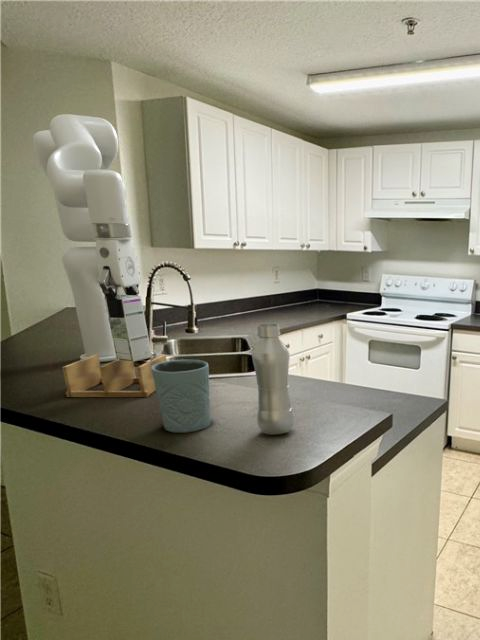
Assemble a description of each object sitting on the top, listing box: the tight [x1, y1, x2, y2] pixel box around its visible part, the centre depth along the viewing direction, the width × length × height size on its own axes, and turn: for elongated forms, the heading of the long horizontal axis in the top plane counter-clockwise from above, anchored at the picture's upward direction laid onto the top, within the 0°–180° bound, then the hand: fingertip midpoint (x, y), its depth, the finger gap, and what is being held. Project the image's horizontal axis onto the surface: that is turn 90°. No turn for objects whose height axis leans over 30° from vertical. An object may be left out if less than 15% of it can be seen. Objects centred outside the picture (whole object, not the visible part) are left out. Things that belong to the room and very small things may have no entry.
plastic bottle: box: [251, 323, 295, 435], centre depth 99 cm, size 6×7×20 cm
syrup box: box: [104, 294, 153, 362], centre depth 126 cm, size 6×6×14 cm
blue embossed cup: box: [151, 359, 212, 434], centre depth 104 cm, size 10×10×12 cm
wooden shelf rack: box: [61, 353, 167, 398], centre depth 130 cm, size 14×18×7 cm
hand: (125, 314), depth 125 cm, fingers closed on syrup box, 7 cm apart
